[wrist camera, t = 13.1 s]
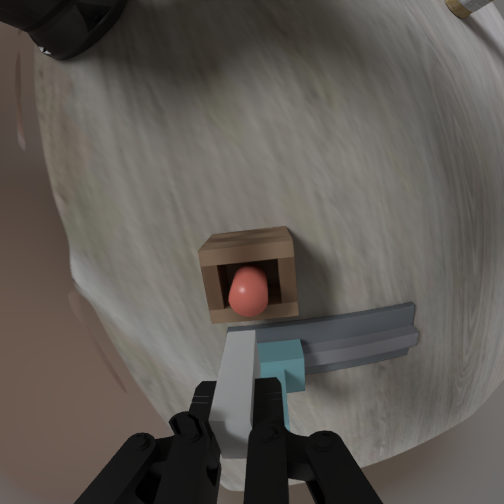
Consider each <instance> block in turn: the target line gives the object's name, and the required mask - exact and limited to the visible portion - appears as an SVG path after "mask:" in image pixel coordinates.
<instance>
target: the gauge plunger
mask: <svg viewBox="0 0 504 504" xmlns="http://www.w3.org/2000/svg"><path fill="white" fill-rule="evenodd" d="M229 303H230V306H231V308H232V309H233V310H234V311H235V312H236V313H238V314H239V315H242V316H246V317H252V316H256V315H258V314H260V313H261V312H263V311H264V309H265V308H266V306H267V304H268V287H267V275H266V273H265V271H264V270H263V268H261V267H260V266H258V265H256V264H245V265H242V266H241V267H239V268H238V269H237V271H236V273H235V276H234V279H233V283H232V286H231V290H230V294H229Z"/></svg>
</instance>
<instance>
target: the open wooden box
mask: <svg viewBox="0 0 504 504" xmlns="http://www.w3.org/2000/svg"><path fill="white" fill-rule="evenodd" d="M198 254H199V260H200V266H201V271H202V276H203V282H204V287H205V292H206V297H207V302H208V307H209V312H210V317H211V321H212V324H214V323H228V322H241V321H252V320H263V319H273V318H282V317H291V316H299V313H298V298H297V284H296V271H295V259H294V247H293V240H292V238H291V236H290V234H289V232H288V230H287V228H286V226H282V227H273V228H264V229H255V230H246V231H238V232H230V233H221V234H213V235H211V236H210V238H209V239H208V240H207V241H206V242H205V243H204V245H203V246H202V247H201V248H200V249H199V250H198ZM245 264H256V265H258V266H260V267H261V268H263V270H264V271H265V273H266V275H267V287H268V304H267V306H266V308H265V309H264V311H263V312H261V313H260V314H258V315H256V316H252V317H246V316H242V315H239V314H238V313H236V312H235V311H234V310H233V309H232V308H231V306H230V303H229V294H230V290H231V286H232V283H233V279H234V276H235V273H236V271H237V269H238V268H239V267H241V266H242V265H245Z"/></svg>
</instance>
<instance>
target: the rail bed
mask: <svg viewBox="0 0 504 504" xmlns="http://www.w3.org/2000/svg"><path fill="white" fill-rule="evenodd" d="M414 309H415V304H414V303H412V302H408V303H403V304H398V305H393V306H388V307H382V308H377V309H371V310H366V311H360V312H354V313H348V314H341V315H335V316H328V317H321V318H313V319H306V320H298V321H289V322H280V323H271V324H261V325H250V326H238V327H228V330H227V333H228V332H236V331H249V330H255V332H256V339H257V343H267V342H277V341H287V340H295V339H300V342H301V346H302V351H303V355H304V370H305V375H306V374H313V373H320V372H327V371H333V370H339V369H344V368H350V367H355V366H360V365H365V364H370V363H374V362H379V361H383V360H387V359H391V358H395V357H399V356H403V355H407V352H408V347H410V346H414V345H416V344H417V339H418V334H419V332H418V331H417V330H416V328H415V327H414V326H413V325H412V323H413V316H414Z"/></svg>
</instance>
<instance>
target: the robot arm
mask: <svg viewBox="0 0 504 504" xmlns="http://www.w3.org/2000/svg"><path fill="white" fill-rule="evenodd" d="M126 1H127V0H0V21H1V22H3V23H6V24H8V25H11V26H13V27H15V28H18V29H20V30H23V31H25V32H27V33H28V34H29V36H30V37H31V38H32V40H33V41H34V42H35V44H36V45H37V46H38V47H39V49H40V50H41V52H42V53H44V54H45V55H47V56H49V57H52V58H54V59H59V60H61V59H67V58H70V57H73V56H75V55H77V54H79V53H81V52H83V51H84V50H86V49H87V48H89V47H90V46H92V45H93V44H94V43H95V42H97V41H98V40H99V39H100V38H101V37H102V36H103V35H104V34H105V33H106V32H107V31H108V30H109V29H110V28H111V27H112V25H113V24H114V23H115V22H116V20H117V19H118V18H119V16H120V14H121V13H122V11H123V9H124V7H125V4H126ZM260 377H261V367H260V360H259V353H258V346H257V339H256V332H255V330H249V331H236V332H228V335H227V339H226V344H225V348H224V353H223V357H222V362H221V366H220V371H219V375H218V380H217V381H202V382H201V383H200V384H199V385H198V386H197V387H196V389H195V393H194V397H193V399H192V403H191V406H190V409H189V411H185V412H180V413H178V414H176V415H174V416H173V417H171V419H170V421H169V424H170V426H171V428H172V430H173V432H174V434H175V435H173V436H171V437H166V438H159V439H155V438H154V437H153V436H152V435H150V434H148V433H137V434H134V435H132V436H131V437H130V438H128V440H127V441H126V442H125V443H124V444H123V446H122V447H121V448H120V449H119V450H118V452H117V453H116V454H115V455H114V456H113V458H112V459H111V460H110V461H109V462H108V464H107V465H106V466H105V467H104V468H103V470H102V471H101V472H100V473H99V474H98V476H97V477H96V478H95V479H94V480H93V482H92V483H91V484H90V485H89V486H88V488H87V489H86V490H85V491H84V492H83V493H82V494H81V496H80V497H79V498H78V499H77V500H76V501H75V503H74V504H217V497H218V490H219V483H220V476H221V464H220V461H219V460H220V453H221V455H222V457H223V458H247V464H246V478H245V491H244V504H289V488H288V478H290V479H296V480H302V481H305V482H306V484H307V486H308V489H309V491H310V493H311V495H312V498H313V500H314V502H315V504H383V503H382V501H381V500H380V498H379V497H378V495H377V494H376V492H375V490H374V489H373V487H372V486H371V484H370V483H369V481H368V480H367V478H366V477H365V475H364V474H363V472H362V470H361V469H360V467H359V466H358V464H357V463H356V461H355V460H354V458H353V456H352V455H351V453H350V452H349V450H348V448H347V447H346V445H345V444H344V442H343V441H342V439H341V437H340V436H339V435H338V434H336V433H334V432H332V431H324V430H323V431H318V432H315V433H313V434H311V435H310V436H309V437H307V436H300V435H296V434H293V433H291V432H290V431H289V430H287V428H286V427H285V422H284V408H283V396H282V385H281V382H280V381H279V380H278V378H277V377H269V378H260Z"/></svg>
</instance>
